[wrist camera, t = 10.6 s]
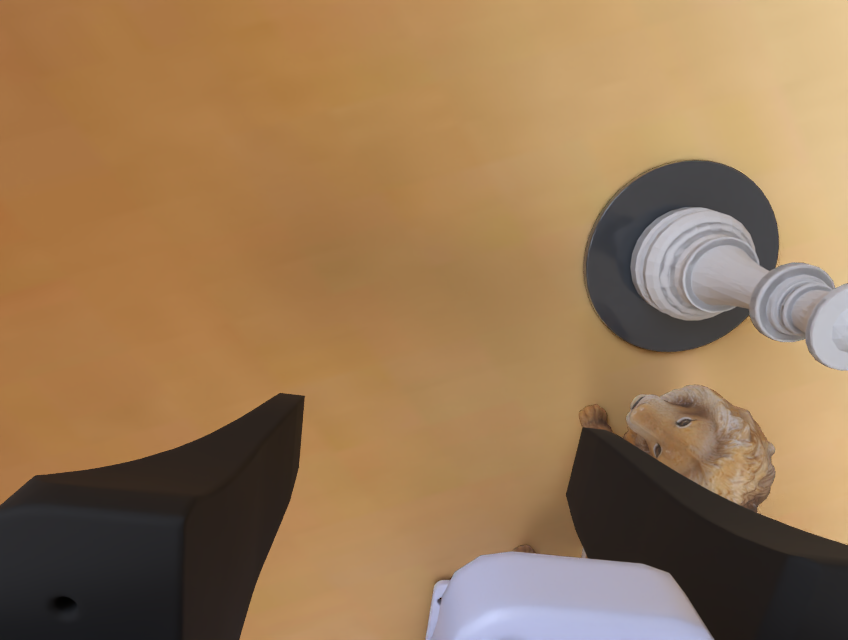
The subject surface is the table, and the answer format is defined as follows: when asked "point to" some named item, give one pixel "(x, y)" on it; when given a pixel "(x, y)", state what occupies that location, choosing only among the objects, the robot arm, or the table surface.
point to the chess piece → (738, 282)
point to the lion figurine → (697, 442)
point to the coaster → (629, 220)
